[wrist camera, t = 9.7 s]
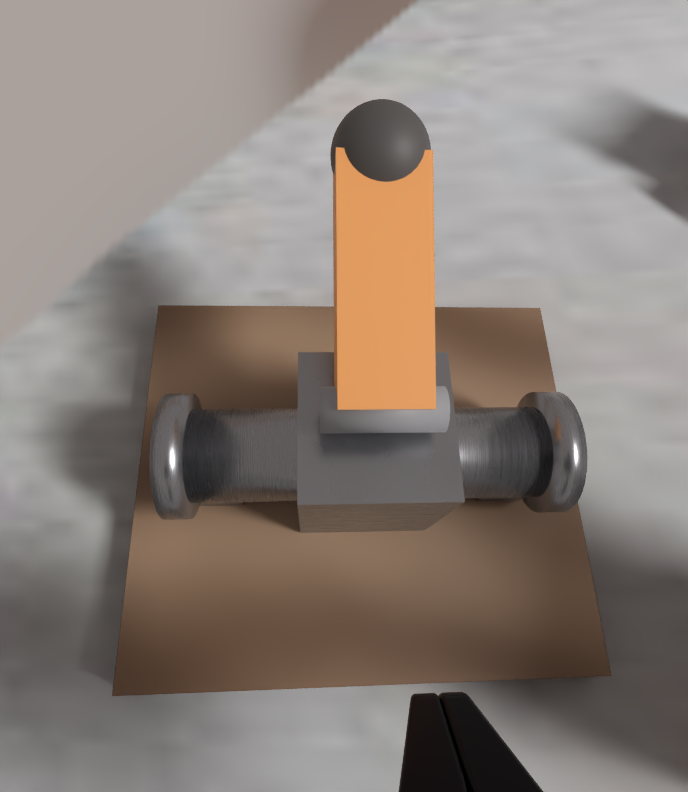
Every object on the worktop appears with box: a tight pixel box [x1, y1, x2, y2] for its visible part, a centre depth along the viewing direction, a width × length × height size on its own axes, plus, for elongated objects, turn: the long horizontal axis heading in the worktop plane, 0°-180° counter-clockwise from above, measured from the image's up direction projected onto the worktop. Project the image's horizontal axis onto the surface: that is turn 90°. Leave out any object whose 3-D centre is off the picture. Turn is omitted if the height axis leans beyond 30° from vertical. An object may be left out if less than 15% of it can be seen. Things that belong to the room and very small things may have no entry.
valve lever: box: [320, 99, 450, 434], centre depth 14 cm, size 3×3×8 cm
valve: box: [149, 352, 587, 533], centre depth 17 cm, size 4×13×5 cm, turn 92°
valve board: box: [112, 306, 611, 696], centre depth 20 cm, size 14×16×1 cm
